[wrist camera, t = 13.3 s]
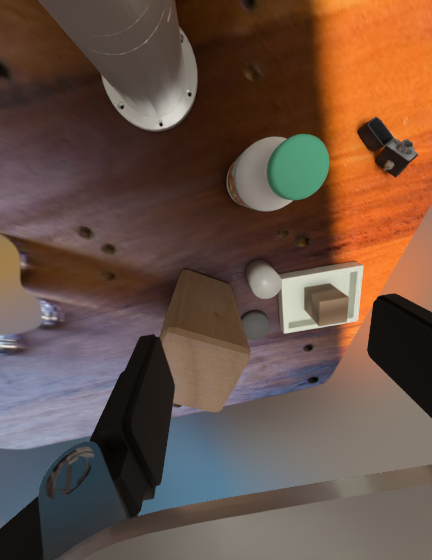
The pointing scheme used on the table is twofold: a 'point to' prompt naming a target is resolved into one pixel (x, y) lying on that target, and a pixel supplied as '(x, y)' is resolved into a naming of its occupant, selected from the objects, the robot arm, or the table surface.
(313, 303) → the walnut block
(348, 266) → the tray
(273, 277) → the white rounded cylinder
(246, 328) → the gray rounded object
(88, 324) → the table surface
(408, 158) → the lighter
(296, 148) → the milk bottle
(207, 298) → the wooden block
